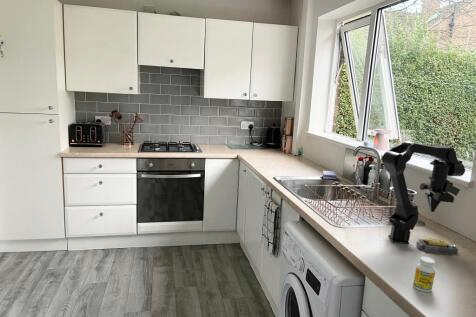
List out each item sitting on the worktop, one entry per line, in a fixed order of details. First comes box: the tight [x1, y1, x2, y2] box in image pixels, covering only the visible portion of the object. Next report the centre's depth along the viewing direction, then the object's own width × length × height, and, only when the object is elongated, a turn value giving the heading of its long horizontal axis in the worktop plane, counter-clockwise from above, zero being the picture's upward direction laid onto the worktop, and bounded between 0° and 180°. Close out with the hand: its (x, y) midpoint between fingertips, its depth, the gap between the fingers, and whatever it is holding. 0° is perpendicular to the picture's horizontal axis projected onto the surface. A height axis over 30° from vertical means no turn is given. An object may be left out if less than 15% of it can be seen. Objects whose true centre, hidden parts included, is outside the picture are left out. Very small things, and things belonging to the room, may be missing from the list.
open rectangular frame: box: [415, 238, 459, 256], centre depth 143 cm, size 15×6×3 cm, turn 86°
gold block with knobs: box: [424, 237, 448, 247], centre depth 143 cm, size 7×4×5 cm, turn 85°
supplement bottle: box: [412, 256, 436, 293], centre depth 112 cm, size 5×5×10 cm
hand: (432, 211), depth 153 cm, fingers closed
